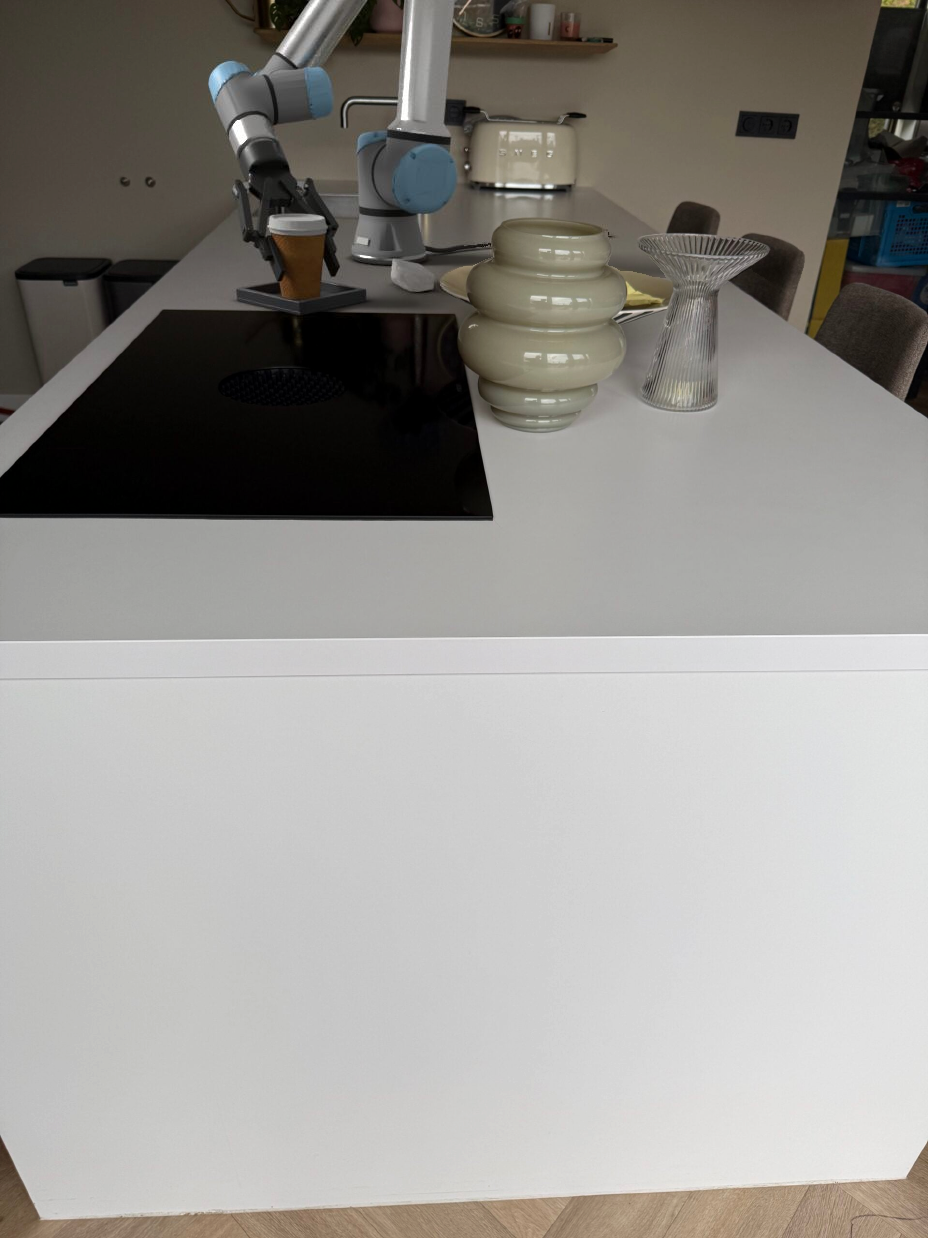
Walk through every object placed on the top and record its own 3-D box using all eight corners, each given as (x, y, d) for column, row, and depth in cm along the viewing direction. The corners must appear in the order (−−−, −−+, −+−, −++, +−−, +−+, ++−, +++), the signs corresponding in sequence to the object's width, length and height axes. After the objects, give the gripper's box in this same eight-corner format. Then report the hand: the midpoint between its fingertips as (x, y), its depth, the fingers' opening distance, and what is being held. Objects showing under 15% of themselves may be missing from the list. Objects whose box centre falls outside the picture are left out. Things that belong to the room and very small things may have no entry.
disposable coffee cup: (260, 297, 149) (254, 217, 143) (291, 287, 156) (287, 211, 150) (311, 304, 146) (308, 223, 140) (340, 293, 154) (338, 216, 147)
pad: (304, 287, 161) (303, 275, 160) (366, 301, 153) (366, 288, 152) (236, 300, 150) (235, 287, 149) (300, 315, 143) (299, 302, 142)
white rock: (427, 311, 163) (439, 281, 159) (394, 302, 160) (405, 272, 157) (417, 282, 169) (428, 253, 166) (385, 274, 167) (395, 244, 163)
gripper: (312, 169, 158) (360, 282, 156) (191, 172, 148) (240, 293, 145) (325, 137, 152) (375, 254, 149) (200, 137, 141) (251, 263, 138)
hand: (309, 273), depth 147 cm, fingers closed on disposable coffee cup, 9 cm apart
